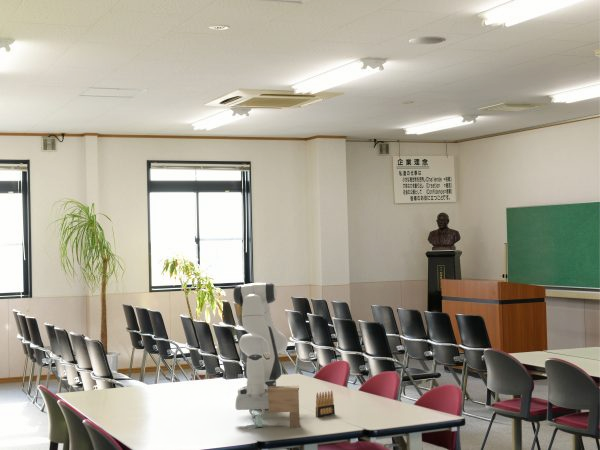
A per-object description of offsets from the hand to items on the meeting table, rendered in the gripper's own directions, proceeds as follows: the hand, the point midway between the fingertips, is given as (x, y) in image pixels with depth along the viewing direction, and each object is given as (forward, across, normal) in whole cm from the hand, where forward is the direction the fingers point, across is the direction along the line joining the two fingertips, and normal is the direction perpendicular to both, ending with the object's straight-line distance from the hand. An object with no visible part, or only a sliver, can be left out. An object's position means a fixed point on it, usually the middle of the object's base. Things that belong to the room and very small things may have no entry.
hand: (257, 418), depth 427 cm
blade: (+2, 0, 0) cm, 2 cm away
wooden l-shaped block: (+2, -13, +8) cm, 16 cm away
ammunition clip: (+2, -33, -13) cm, 36 cm away
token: (+3, +2, +10) cm, 10 cm away
